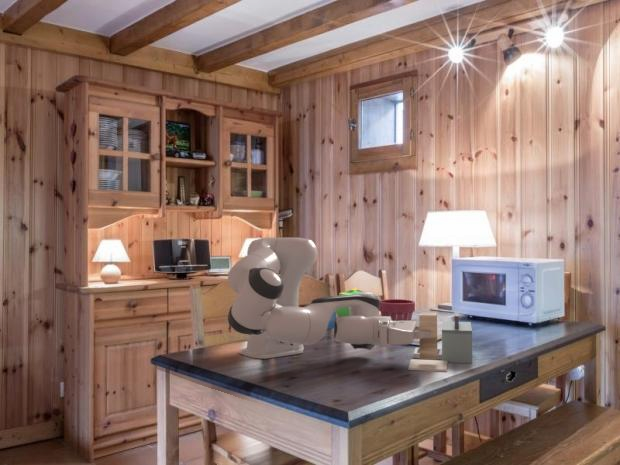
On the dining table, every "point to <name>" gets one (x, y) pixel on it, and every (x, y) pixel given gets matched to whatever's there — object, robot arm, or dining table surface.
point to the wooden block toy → (454, 342)
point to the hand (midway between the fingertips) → (431, 332)
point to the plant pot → (397, 309)
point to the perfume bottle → (332, 321)
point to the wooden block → (430, 344)
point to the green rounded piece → (345, 310)
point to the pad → (428, 365)
